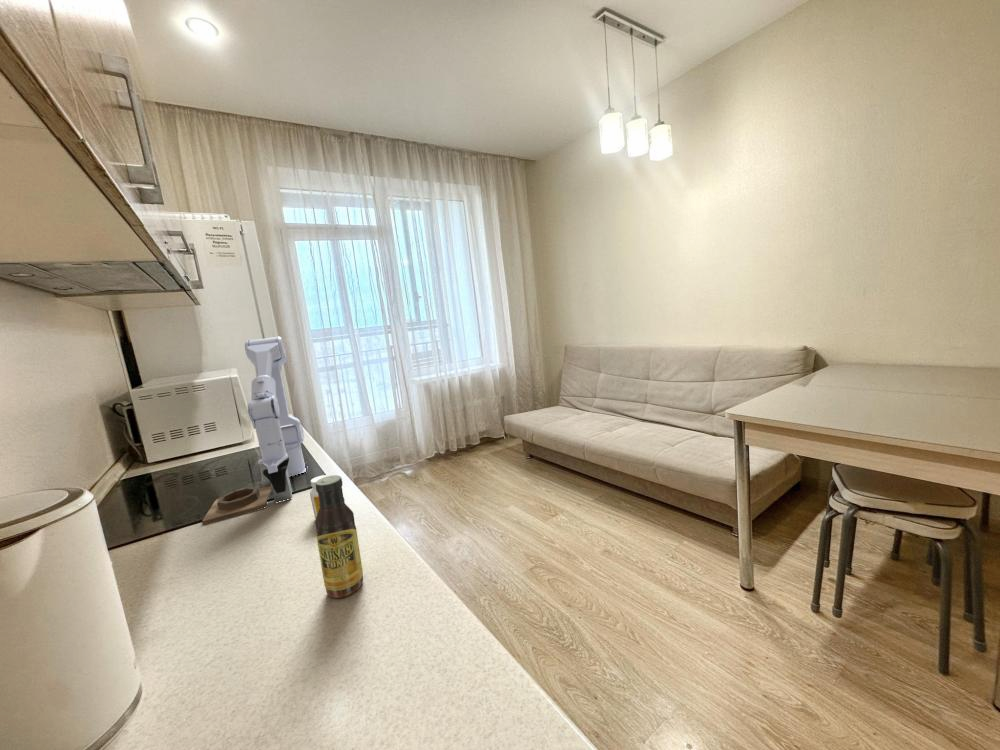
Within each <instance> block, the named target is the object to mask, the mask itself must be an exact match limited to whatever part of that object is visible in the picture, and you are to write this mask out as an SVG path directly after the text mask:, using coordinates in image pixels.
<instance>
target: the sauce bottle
mask: <svg viewBox="0 0 1000 750" xmlns="http://www.w3.org/2000/svg"><path fill="white" fill-rule="evenodd" d="M315 484H316V491H317V492H318V496H319V502H320V504H319V506H320V508H319V511H318V514H317V517H316V519H315V520H314V521H315V522H314V523H315V532H316V542H317V547H318V554H319V559H320V565H321V572H322V578H323V584H324V587H325V590H326V594H327V596H328V597H330V598H333V599H341V598H346V597H348V596H350V595H352V594H353V593H356V592H357V591H358V590H359V589H360V587H361V585H362V584H363V582H364V576H363V575H364V571H363V563H362V559H361V551H360V544H359V538H358V531H357V526H356V522H355V515H354V512H353V510H352V509H351V508H350V507H349V505H347V504H346V502H345V497H344V493H343V488H342V487H343V479H342V476H340V475H337V474H335V475H334V474H333V475H332V474H331V475H327V477H324V478H321V479H319V480H318V481H317V482H316V483H315Z"/></svg>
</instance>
